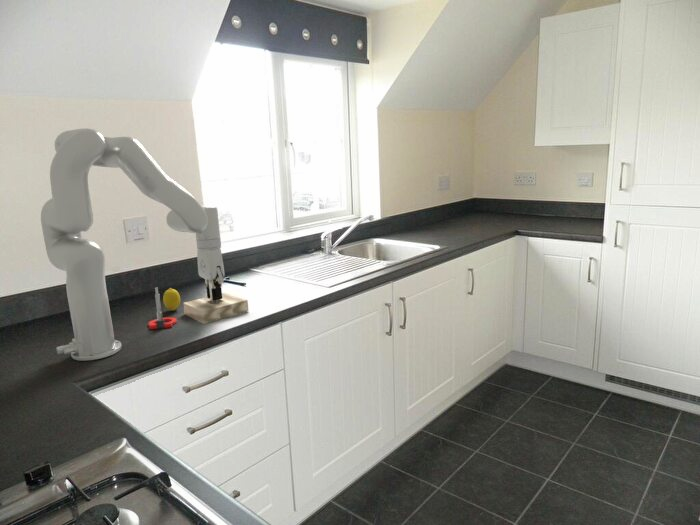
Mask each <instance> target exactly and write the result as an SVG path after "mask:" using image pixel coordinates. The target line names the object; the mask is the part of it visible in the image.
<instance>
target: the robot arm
mask: <svg viewBox="0 0 700 525" xmlns="http://www.w3.org/2000/svg"><path fill="white" fill-rule="evenodd" d="M54 150H55V154H54V157H53V159H52V161H51V164H50V167H49V168H50V169H49V179H50V180H49V181H50V182H49V183H50V189H51V198H50V199H48V200H47V201H46V202H44V204H43V206H42V208H41V211H40V223H41V229H42V236H43V241H44V245H45V250H46V255H47V258H48V260H49V262H50V264H52V266H53V267H55V268H56V269H58V270H60V271H64V272H65V273H66V279H65V280H66V283H65V284H66V286H65V288H66V295H67V296H66V297H67V301H68V306H69V307H68V308H69V313H70V319H71V323H72V329H73V330H72V331H73V336H74V338H72V339H71V342H69V343H68V344H65V345H60V346H57V347H55V348H56V349H55V350H56V353H57V355H60V354H63V353H64V355H68V354H70V355H71V358H72V359H73V360H76V361H81V362H82V361H84V362H85V361H95V360H99V359H104V358H107V357H110V356H112V355H114V354H117V353H118V352H120V351H121V349H122V347H123V345H122V342H121V341H120V340H117V339H115V334H114V329H113V328H114V327H113V322H112V316H111V309H110V303H109V302H110V301H109V296H108V290H107V289H108V288H107V283H106V257H105V253H104V251H103V249H102V248H101V247H100V246H99V244H97V243H96V242H95V241H93V240H91V239H87V238H83V236H82V234H84V233H86V232H88V231H89V230H90V229H91V228H92V226H93V225H94V213H93V206H92V202H91V195H90V190H89V173H90V170H91V167H92V166H93V167H104V168H114V169H115V168H116V169H117V168H118V169H120V170H122V171H123V173H124V174H125V175H126V176H127V178H128V179H129V180H131V182H132V183H133V184H134V185H135V186H136V187H137V189H139V191H140V193H142V194H143V195H145V196H146V197H147V198H149V199H150V200H154V201H156V202H158V203H160V204H163V205H164V206H166V207H167V208H169V209H170V210H169V212H168V213H167V214H166V219H165V221H166V224H167V225H168V227H169V228H170V229H171V230H174V231H177V232H179V233H180V232H181V233H191V234H195V239H196V240H195V241H196V249H197V252H196V253H197V254H196V257H197V259H196V260H197V274H198V276H199V277H200V278H202V279H203V281H204V284H205V286H206V287H205V289H206V295H207V296H206V297H207V298H210V291H209V282H208V280H211V281H212V298H213V300H214V301H215V300H219V299H222V293H223V291H222V288H223V285H222V284H223V283H224V282H225V280H224V277H225V266H224V261H223V259H224V258H223V255H222V251H221V250H222V249H221V248H222V240H221V232H220V223H219V222H220V221H219V213H218V212H219V211H218V207H217V206H216V205H215V204H200V203H199V202H198V200H197V199H196V198H195V197H194V196H193V195H192V193H190V192H189V191H188V190H186V189H185V188H184V187H183V186H181V185H180V184H178V183H177V182H176V181H174V179H172V178H171V177H169V176H168V175H167V174H166V173H165V172H164V171H163V170H162V168H161V167H160V166H159V164H158V163H157V162H156V161H155V160H154V158H153V157H152V156H151V155H150V154H149V152H148V151H147V150H146V148H145V147H144V146H143V145H142V144H141V143H140V141H138V140H137V139H136V138H134V137H130V136H117V137H115V136H114V137H109V136H108V137H107V136H103V134H101V132H99V131H98V130H95V129H94V128H78V129H70V130H65V131H63V132H61V133H60V134H58V135H57V136H56V138H55V140H54ZM215 277H217V278H215ZM215 281H216V282H215Z"/></svg>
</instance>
